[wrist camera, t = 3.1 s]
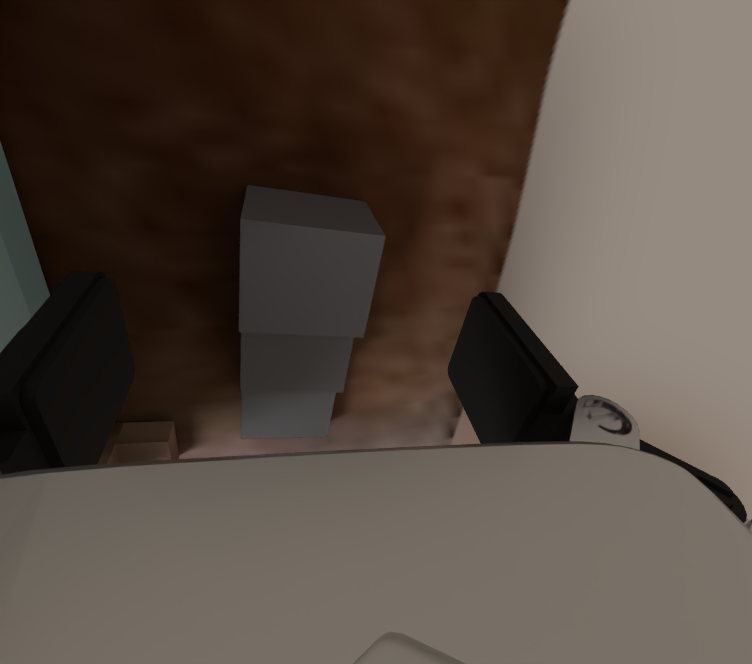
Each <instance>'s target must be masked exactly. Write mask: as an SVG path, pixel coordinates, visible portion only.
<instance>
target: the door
mask: <svg viewBox="0 0 752 664" xmlns="http://www.w3.org/2000/svg"><path fill="white" fill-rule="evenodd" d="M49 296H50V294H49V291H48V288H47V285H46V282H45V278H44V275H43V272H42V269H41V266H40V263H39V260H38V257H37V254H36V250H35V247H34V244H33V241H32V238H31V235H30V232H29V229H28V226H27V222H26V219H25V216H24V213H23V210H22V207H21V204H20V201H19V198H18V194H17V191H16V188H15V185H14V182H13V179H12V176H11V173H10V170H9V166H8V163H7V160H6V157H5V154H4V151H3V148H2V145H1V142H0V352H1V351H2V350H3V349H4V348H5V347H6V345H7V344H8V343H9V342H10V341H11V340H12V338H13V337H14V336H15V335H16V334H17V332H18V331H19V330H20V329H21V328H23V327H24V326H25V325H26V323H27V322H28V321H29V320H30V319H31V318H32V316H33V315H34V314H35V313H36V312H37V311H38V309H39V308H40V307H41V306H42V305H43V303H44V302H45V301H46V300H47V299H48V298H49Z"/></svg>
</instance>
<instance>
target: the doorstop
mask: <svg viewBox="0 0 752 664" xmlns="http://www.w3.org/2000/svg"><path fill="white" fill-rule="evenodd" d="M385 237H386V236H385V234H384V232H383V231H382V229H381V227H380V225H379V224H378V222H377V220H376V219H375V217H374V215H373V214H372V212H371V210H370V208H369V207H368V205H367V203H366V202H365V201H360V200H352V199H345V198H338V197H331V196H324V195H317V194H310V193H303V192H296V191H289V190H281V189H274V188H267V187H260V186H253V185H247V189H246V194H245V199H244V204H243V209H242V214H241V219H240V289H239V332H241V369H240V392H242V405H241V439H263V438H304V437H328V432H329V426H330V421H331V416H332V410H333V405H334V400H335V394H336V393H343V391H344V386H345V381H346V376H347V371H348V366H349V361H350V356H351V351H352V346H353V341H354V337H361V338H364V335H365V330H366V325H367V321H368V316H369V311H370V307H371V302H372V298H373V293H374V288H375V284H376V279H377V274H378V270H379V265H380V261H381V256H382V251H383V247H384V242H385Z"/></svg>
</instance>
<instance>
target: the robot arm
mask: <svg viewBox="0 0 752 664" xmlns="http://www.w3.org/2000/svg"><path fill="white" fill-rule="evenodd" d="M448 375H449V378H450V380H451V382H452V385H453V387H454V389H455V391H456V393H457V395H458V397H459V399H460V401H461V403H462V405H463V407H464V410H465V412H466V414H467V416H468V418H469V420H470V422H471V424H472V426H473V428H474V430H475V432H476V435H477V437H478V439H479V441H480V443H481V444H465V445H443V446H421V447H399V448H379V449H359V450H339V451H320V452H300V453H281V454H263V455H245V456H227V457H209V458H191V459H173V460H157V461H141V462H125V463H110V464H98V462H99V460H100V457H101V455H102V452H103V450H104V448H105V445H106V443H107V440H108V438H109V436H110V433H111V431H112V428H113V426H114V423H115V421H116V419H117V416H118V414H119V411H120V409H121V407H122V404H123V402H124V399H125V397H126V395H127V392H128V390H129V387H130V385H131V383H132V380H133V377H134V362H133V358H132V354H131V349H130V345H129V341H128V337H127V332H126V328H125V324H124V320H123V315H122V311H121V307H120V303H119V298H118V294H117V290H116V285H115V282H114V280H113V279H112V278H106V276H105V275H104V273H102V272H95V271H76V270H74V271H71V272H70V273H69V274H68V275H67V276H66V278H65V279H64V280H63V281H62V282H61V283H60V285H59V286H58V287H57V288H56V289H55V291H54V292H53V293H52V294H51V295H50V296H49V298H48V299H47V300H46V301H45V302H44V303H43V305H42V306H41V307H40V308H39V309H38V311H37V312H36V313H35V314H34V315H33V316H32V318H31V319H30V320H29V321H28V322H27V323H26V325H25V326H24V327H23V328H21V329H20V330H19V331H18V332H17V334H16V335H15V336H14V337H13V338H12V340H11V341H10V342H9V343H8V344H7V345H6V347H5V348H4V349H3V350H2V351H1V352H0V664H752V520H748V519H747V518H746V517H747V514H746V511H745V508H744V506H743V505H742V503H741V501H740V500H739V498H738V497H737V496H736V495H735V494H734V493H733V491H732V490H731V489H730V488H729V487H728V486H727V485H726V484H725V483H724V482H722V481H721V480H719V479H718V478H716V477H713V476H711V475H709V474H707V473H706V472H704V471H702V470H699V469H697V468H696V467H693V466H692V465H690V464H688V463H686V462H684V461H682V460H680V459H678V458H676V457H674V456H672V455H670V454H668V453H666V452H664V451H662V450H660V449H658V448H656V447H654V446H652V445H650V444H648V443H646V442H644V441H642V440H640V439H639V428H638V424H637V423H636V421H635V420H634V418H633V417H632V416H631V415H630V414H629V413H628V412H627V411H626V410H625V409H624V408H622V407H620V406H619V405H618V404H616V403H614V402H612V401H611V400H609V399H606V398H603V397H600V396H594V395H586V396H582V397H581V398H579V399H578V398H577V397H576V396H575V394H574V393H575V391H576V390H577V388H578V385H577V384H576V383H575V382H574V380H573V379H572V378H571V377H570V376H569V374H568V373H567V372H566V371H565V370H564V368H563V367H562V366H561V365H560V364H559V362H558V361H557V360H556V359H555V358H554V356H553V355H552V354H551V353H550V351H549V350H548V349H547V348H546V347H545V345H544V344H543V343H542V342H541V341H540V339H539V338H538V337H537V336H536V335H535V333H534V332H533V331H532V330H531V328H530V327H529V326H528V325H527V324H526V322H525V321H524V320H523V319H522V318H521V316H520V315H519V314H518V313H517V312H516V310H515V309H514V308H513V307H512V305H511V304H510V303H509V302H508V301H507V300H506V298H505V297H504V296H503V295H502V294H501V293H493V292H481V293H479V295H478V296H477V297H476V296H475V297H474V298H473V299H472V301H471V304H470V306H469V309H468V312H467V315H466V318H465V320H464V323H463V326H462V329H461V332H460V335H459V337H458V340H457V343H456V346H455V349H454V351H453V354H452V357H451V360H450V363H449V366H448Z"/></svg>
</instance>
